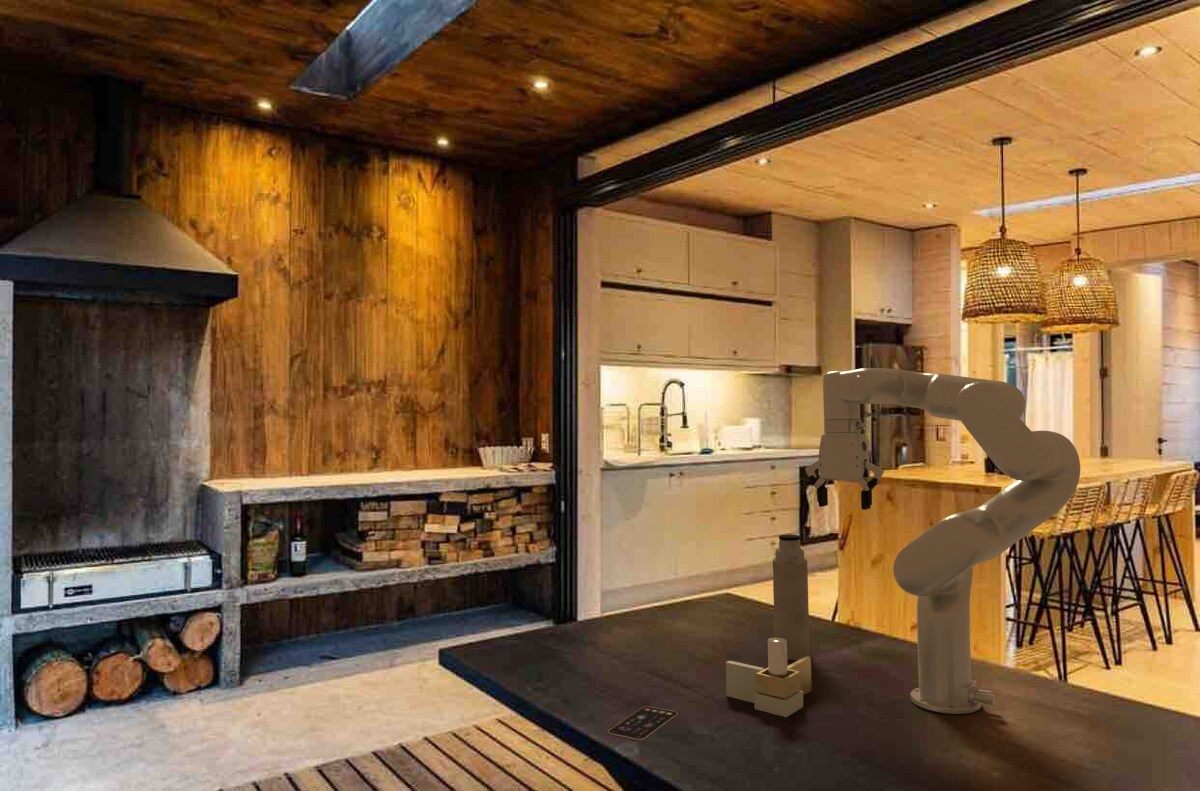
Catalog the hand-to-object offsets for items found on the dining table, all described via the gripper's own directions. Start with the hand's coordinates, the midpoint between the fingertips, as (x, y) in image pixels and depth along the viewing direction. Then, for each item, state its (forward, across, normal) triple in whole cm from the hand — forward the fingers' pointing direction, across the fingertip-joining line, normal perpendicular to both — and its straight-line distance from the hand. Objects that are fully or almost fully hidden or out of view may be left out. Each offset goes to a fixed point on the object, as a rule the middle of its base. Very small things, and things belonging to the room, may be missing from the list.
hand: (844, 507), depth 174 cm
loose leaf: (+36, +7, +25) cm, 45 cm away
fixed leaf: (+36, +3, +20) cm, 42 cm away
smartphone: (+37, +19, +47) cm, 63 cm away
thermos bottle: (+36, +17, -7) cm, 41 cm away
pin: (+36, +3, +25) cm, 44 cm away
